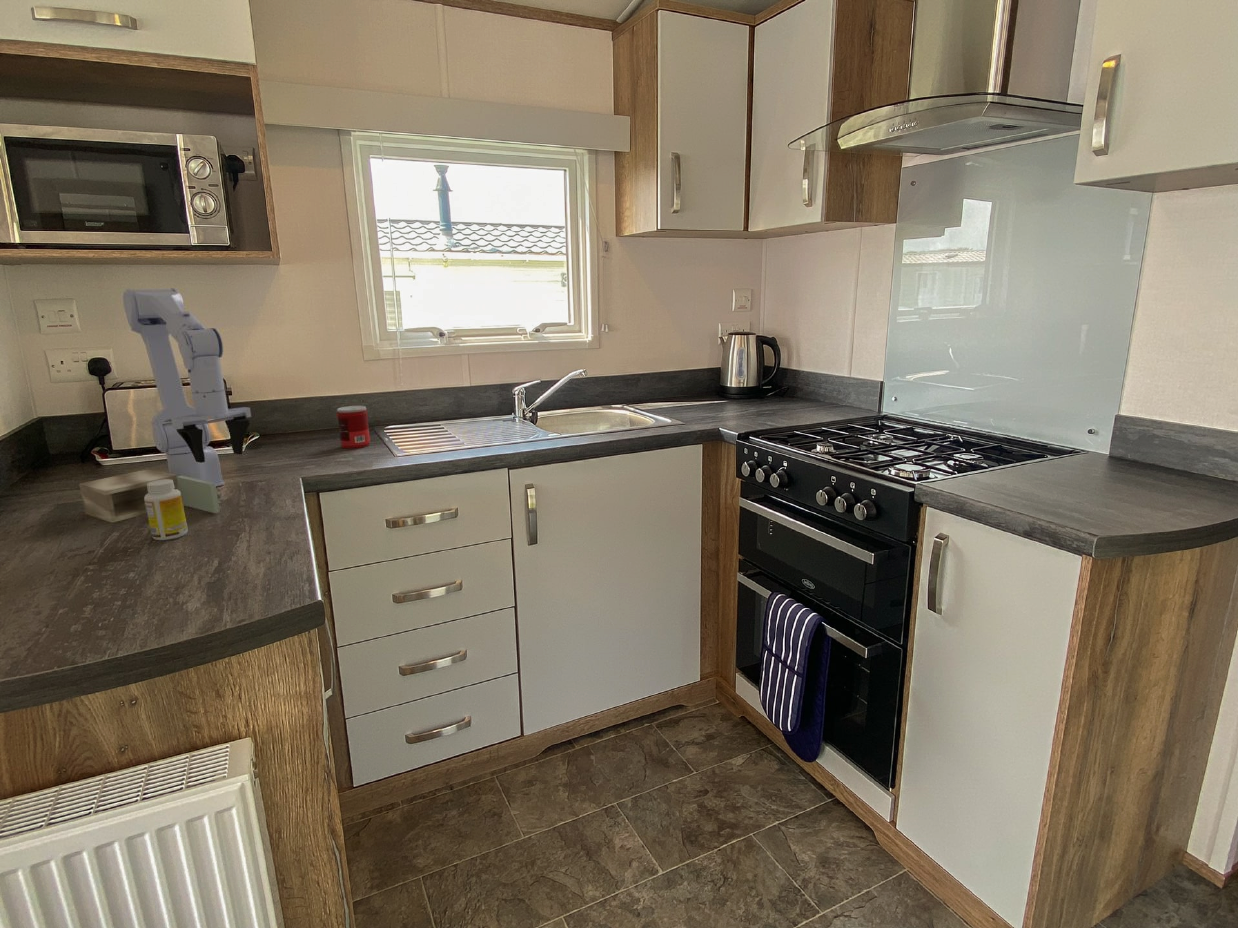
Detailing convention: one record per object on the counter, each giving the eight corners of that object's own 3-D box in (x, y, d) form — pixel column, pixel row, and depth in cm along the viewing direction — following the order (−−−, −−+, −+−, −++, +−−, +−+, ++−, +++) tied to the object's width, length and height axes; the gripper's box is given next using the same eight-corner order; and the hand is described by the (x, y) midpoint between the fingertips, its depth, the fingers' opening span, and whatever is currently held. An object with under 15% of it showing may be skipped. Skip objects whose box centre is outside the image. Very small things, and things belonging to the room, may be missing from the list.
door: (181, 504, 142) (176, 476, 141) (192, 501, 144) (187, 474, 143) (214, 513, 136) (209, 484, 134) (225, 510, 138) (221, 481, 136)
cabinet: (155, 497, 149) (149, 468, 147) (182, 504, 143) (176, 474, 142) (85, 514, 138) (79, 483, 137) (112, 522, 133) (105, 490, 131)
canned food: (375, 442, 199) (370, 405, 196) (362, 449, 191) (357, 410, 188) (349, 442, 199) (345, 405, 197) (336, 449, 192) (331, 410, 189)
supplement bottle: (194, 530, 127) (184, 477, 125) (178, 540, 122) (168, 485, 120) (162, 531, 127) (152, 478, 124) (145, 542, 122) (134, 487, 119)
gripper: (180, 397, 127) (193, 468, 131) (255, 387, 139) (265, 452, 143) (161, 395, 131) (174, 463, 134) (235, 385, 143) (245, 448, 146)
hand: (219, 457), depth 139 cm, fingers open, 7 cm apart
